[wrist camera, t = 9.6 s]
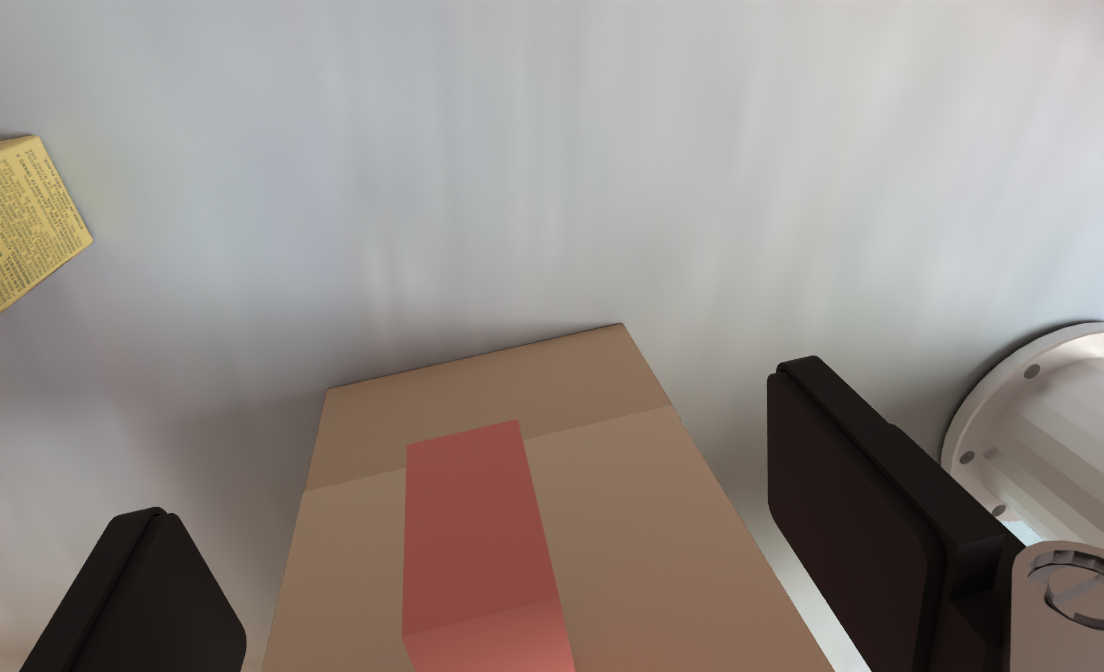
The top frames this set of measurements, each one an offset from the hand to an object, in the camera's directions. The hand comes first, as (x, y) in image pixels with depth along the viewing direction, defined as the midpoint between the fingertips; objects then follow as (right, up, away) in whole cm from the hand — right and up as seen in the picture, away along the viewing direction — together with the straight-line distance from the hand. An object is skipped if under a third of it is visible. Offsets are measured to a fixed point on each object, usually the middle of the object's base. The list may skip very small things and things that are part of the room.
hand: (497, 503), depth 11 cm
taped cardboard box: (0, -4, +6) cm, 8 cm away
